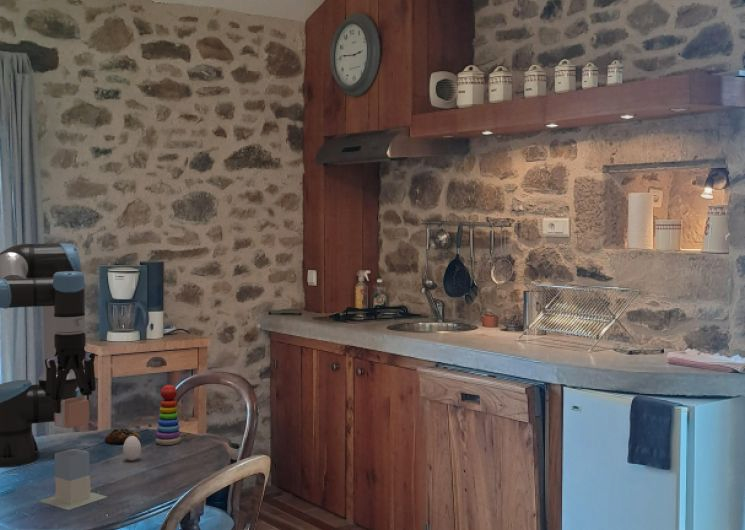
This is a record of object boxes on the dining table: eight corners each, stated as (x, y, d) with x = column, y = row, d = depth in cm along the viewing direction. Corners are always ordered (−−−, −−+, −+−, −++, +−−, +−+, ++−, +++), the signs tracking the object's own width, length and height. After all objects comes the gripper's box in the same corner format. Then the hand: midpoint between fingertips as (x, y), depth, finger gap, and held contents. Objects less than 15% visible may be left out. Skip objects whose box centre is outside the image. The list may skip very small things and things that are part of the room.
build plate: (38, 504, 222) (38, 500, 222) (77, 491, 232) (77, 488, 232) (68, 513, 215) (68, 509, 215) (107, 499, 225) (107, 496, 225)
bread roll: (108, 447, 276) (108, 430, 276) (101, 443, 286) (101, 428, 286) (144, 444, 281) (143, 428, 282) (135, 441, 291) (135, 425, 291)
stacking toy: (174, 446, 277) (173, 388, 275) (151, 445, 278) (150, 387, 277) (184, 440, 284) (184, 383, 283) (162, 438, 286) (161, 382, 285)
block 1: (54, 425, 222) (53, 401, 221) (74, 420, 227) (73, 397, 226) (69, 428, 218) (68, 404, 218) (89, 423, 223) (88, 400, 223)
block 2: (55, 476, 222) (54, 453, 222) (74, 471, 227) (74, 448, 227) (69, 480, 219) (69, 457, 219) (89, 475, 224) (89, 451, 224)
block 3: (55, 499, 223) (55, 476, 222) (75, 493, 228) (75, 471, 227) (70, 504, 219) (70, 480, 219) (90, 497, 224) (90, 474, 224)
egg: (144, 460, 261) (144, 436, 261) (128, 463, 258) (128, 439, 257) (136, 456, 265) (135, 432, 265) (119, 460, 261) (119, 435, 261)
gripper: (46, 338, 211) (48, 432, 212) (109, 329, 227) (111, 417, 228) (27, 335, 215) (29, 428, 217) (91, 327, 231) (92, 413, 232)
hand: (71, 422), depth 222 cm, fingers closed on block 1, 6 cm apart
